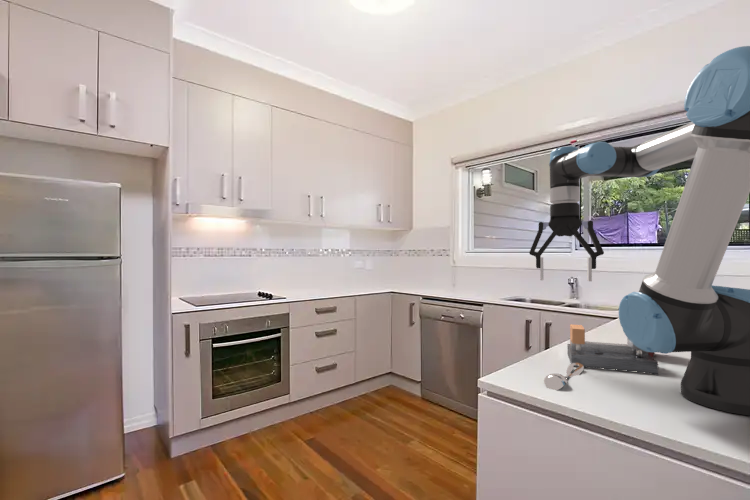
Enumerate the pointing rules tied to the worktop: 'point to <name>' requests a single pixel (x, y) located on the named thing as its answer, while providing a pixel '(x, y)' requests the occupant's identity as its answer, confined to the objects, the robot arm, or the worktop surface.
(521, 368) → the worktop surface
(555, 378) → the grey spoon
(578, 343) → the block
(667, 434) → the worktop surface
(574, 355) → the hole plate
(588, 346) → the bar
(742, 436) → the worktop surface
